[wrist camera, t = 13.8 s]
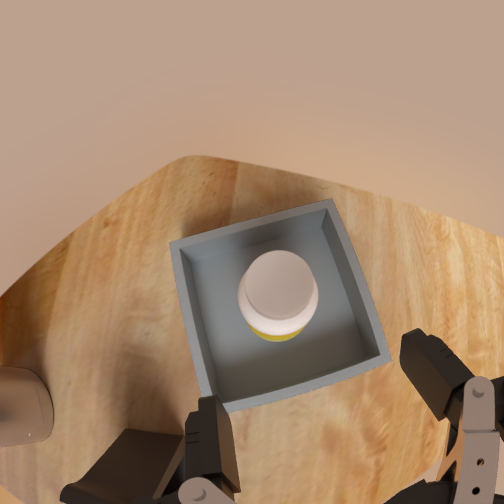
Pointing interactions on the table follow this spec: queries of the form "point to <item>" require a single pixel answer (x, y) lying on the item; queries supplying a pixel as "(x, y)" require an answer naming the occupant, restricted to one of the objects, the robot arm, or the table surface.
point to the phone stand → (132, 470)
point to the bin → (239, 333)
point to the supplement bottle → (278, 296)
